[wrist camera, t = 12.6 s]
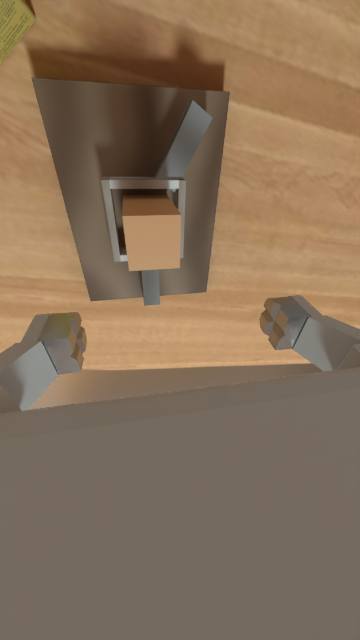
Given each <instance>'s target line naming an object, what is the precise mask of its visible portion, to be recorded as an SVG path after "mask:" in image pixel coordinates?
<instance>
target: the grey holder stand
mask: <svg viewBox="0 0 360 640" xmlns="http://www.w3.org/2000/svg"><path fill="white" fill-rule="evenodd" d="M32 81H33V85H34V89H35V93H36V96H37V100H38V104H39V108H40V111H41V115H42V119H43V123H44V127H45V130H46V134H47V138H48V142H49V145H50V149H51V153H52V157H53V161H54V164H55V168H56V172H57V176H58V179H59V183H60V187H61V191H62V195H63V198H64V202H65V206H66V210H67V213H68V217H69V221H70V225H71V228H72V232H73V236H74V240H75V244H76V247H77V251H78V255H79V259H80V262H81V266H82V270H83V274H84V278H85V281H86V285H87V289H88V293H89V296H90V300H91V301H99V300H112V299H125V298H138V297H143V298H144V306H145V305H157V304H160V296H163V295H176V294H189V293H202V292H206V290H207V281H208V273H209V264H210V256H211V247H212V239H213V230H214V222H215V213H216V205H217V196H218V188H219V179H220V171H221V162H222V154H223V145H224V137H225V128H226V120H227V111H228V103H229V94H230V92H225V91H211V90H197V89H183V88H170V87H156V86H142V85H128V84H114V83H100V82H86V81H72V80H59V79H45V78H32ZM123 195H168V197H169V198H170V200H171V201H172V202H173V204H174V205H175V207H176V208H177V209H178V211H179V212H180V214H181V245H180V268H174V269H157V270H140V271H129V266H128V258H127V250H126V242H125V234H124V226H123V218H122V207H123Z"/></svg>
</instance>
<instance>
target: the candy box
mask: <svg viewBox="0 0 360 640" xmlns="http://www.w3.org/2000/svg"><path fill="white" fill-rule="evenodd" d="M35 21H36V17H35V15H34V14H33V12H32V11H31V9H30V7H29V6H28V4H27V3H26V1H25V0H0V66H1V64H2V63H3V61H4V60H5V59H6V58H7V56H8V55H9V54H10V52H11V51H12V50H13V49H14V47H15V46H16V45H17V43H18V42H19V41H20V40H21V38H22V37H23V36H24V34H25V33H26V32H27V31H28V30H29V28H30V27H31V26H32V25H33V24H34V22H35Z"/></svg>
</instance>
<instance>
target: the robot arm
mask: <svg viewBox="0 0 360 640" xmlns="http://www.w3.org/2000/svg"><path fill="white" fill-rule="evenodd" d="M264 307H265V309H266V310H265V311H264V312H263V313H261V316H260V327H261V329H262V331H263V333H265V334H266V335H268V336H269V339H268V340H269V342H270V343H271V344H272V346H273V347H274V349H275V350H282V349H293V350H294V351H296V352H297V353H299V354H300V355H301V356H303V357H304V358H306V359H307V360H309V361H310V362H312V363H313V364H314V365H316V366H317V367H319V368H320V369H322V370H323V371H325V372H317V373H310V374H303V375H295V376H286V377H279V378H271V379H263V380H255V381H248V382H240V383H232V384H224V385H217V386H209V387H201V388H194V389H186V390H178V391H171V392H164V393H155V394H148V395H140V396H132V397H125V398H117V399H109V400H101V401H94V402H86V403H78V404H71V405H63V406H55V407H47V408H40V409H32V410H28V409H29V408H30V407H31V406H32V404H33V403H34V402H35V401H36V400H37V399H38V398H39V397H40V396H41V394H42V393H43V392H44V391H45V390H46V389H47V388H48V387H49V385H50V384H51V383H52V382H53V381H54V380H55V379H56V378H57V377H58V375H59V374H66V373H73V372H81V369H82V365H83V360H84V358H83V355H82V353H83V352H84V351H85V350H86V345H87V338H86V333H85V329H84V328H83V327H81V326H80V325H81V321H82V320H81V317H80V314H79V313H78V312H70V313H52V314H38V315H36V316H35V317H34V319H33V320H32V322H31V324H30V326H29V328H28V330H27V332H26V333H25V335H24V337H23V339H22V341H21V343H16V344H14V345H13V346H11V347H10V348H8V349H6V350H5V351H3V352H2V353H0V640H360V329H358V328H355V327H353V326H350V325H348V324H345V323H343V322H341V321H338V320H336V319H333V318H331V317H328V316H323V315H321V314H320V313H319V312H318V311H317V310H316V309H315V308H314V307H313V306H312V305H311V304H310V303H309V302H308V301H306V300H305V299H304V298H303V297H302V296H299V295H296V296H288V297H278V298H268V299H267V300H266V301H265V304H264Z"/></svg>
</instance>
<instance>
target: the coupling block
mask: <svg viewBox="0 0 360 640" xmlns="http://www.w3.org/2000/svg"><path fill="white" fill-rule="evenodd" d="M122 218H123V226H124V234H125V242H126V250H127V258H128V266H129V271H140V270H157V269H174V268H180V245H181V214H180V212H179V211H178V209H177V208H176V207H175V205H174V204H173V202H172V201H171V200H170V198H169V197H168V195H123V207H122Z"/></svg>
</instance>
